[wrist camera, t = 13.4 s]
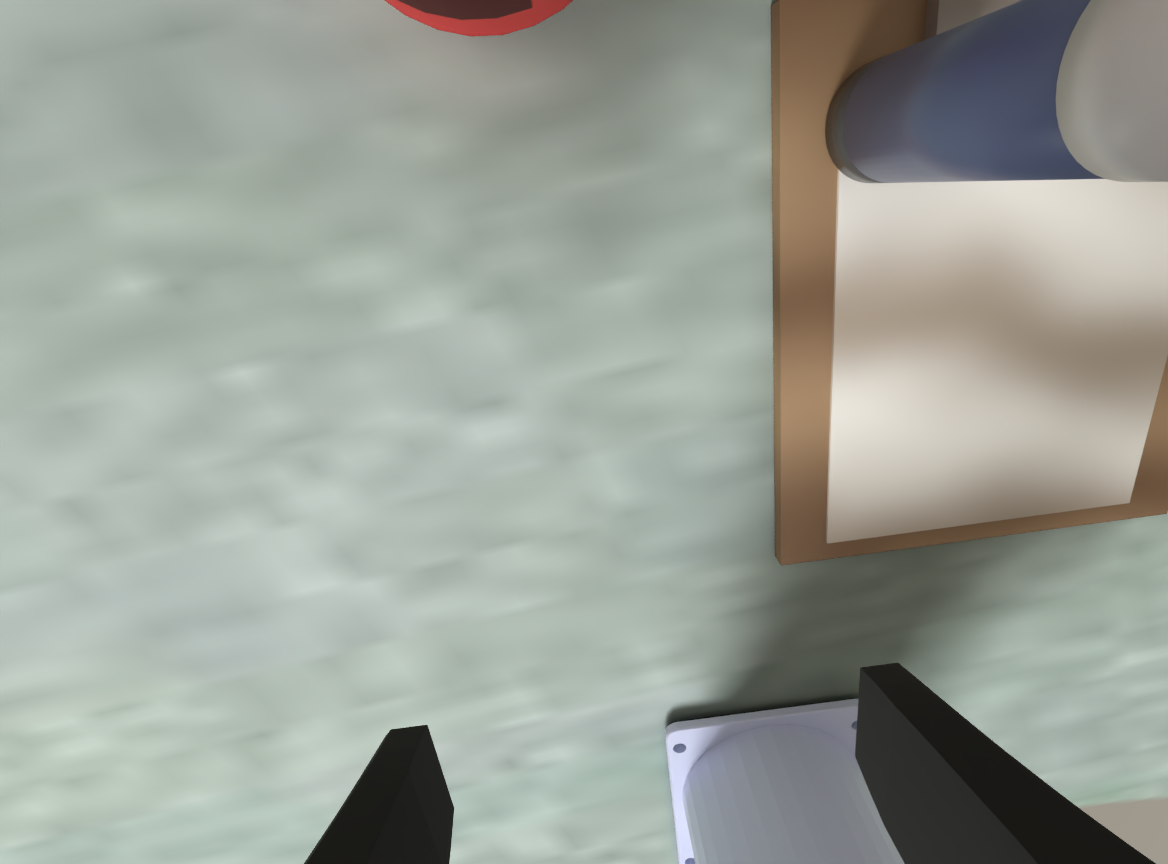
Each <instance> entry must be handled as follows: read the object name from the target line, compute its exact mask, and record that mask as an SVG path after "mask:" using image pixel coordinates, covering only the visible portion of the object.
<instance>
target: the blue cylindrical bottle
mask: <svg viewBox="0 0 1168 864" xmlns="http://www.w3.org/2000/svg"><path fill="white" fill-rule="evenodd" d="M825 139H826V145H827V149H828V152H829V155H830V157H831V159H832V161H833V163H834V164H835V166H836V167H837V168H838V169H839V170H840V171H841V172H842V173H843V174H844V175H845V176H847V177H849V178H851V179H852V180H855V181H858V182H863V183H910V182H963V181H1016V180H1070V179H1108V180H1113V181H1118V182H1168V0H1021V1H1019V2H1017V3H1014V4H1012V5H1009V6H1007V7H1004V8H1002V9H999V10H997V11H994V12H992V13H990V14H987V15H985V16H982V17H980V18H977V19H975V20H972V21H970V22H967V23H965V24H962V25H960V26H958V27H955V28H953V29H950V30H948V31H945V32H943V33H940V34H938V35H935V36H933V37H931V38H928V39H926V40H923V41H921V42H918V43H916V44H913V45H911V46H908V47H906V48H904V49H901V50H899V51H896V52H894V53H891V54H889V55H886V56H884V57H881V58H879V59H876V60H874V61H872V62H869V63H867V64H865V65H863V66H862V67H860V68H859V69H857V70H856V71H855V72H853V73H852V74H851V75H850V76H849V77H848V78H847V79H846V80H845V81H844V83H843V84H842V85H841V86H840V88H839V89H838V91H837V92H836V94H835V96H834V98H833V100H832V102H831V105H830V107H829V110H828V114H827V118H826V124H825Z"/></svg>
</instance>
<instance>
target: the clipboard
mask: <svg viewBox="0 0 1168 864" xmlns="http://www.w3.org/2000/svg"><path fill="white" fill-rule="evenodd" d="M1019 1H1021V0H778V1H776V2H775V3H774V4H773V5H772V6H771V75H772V212H773V348H774V485H775V556H776V558H777V559H778V561H779V563H780V564H781V565H788V564H795V563H802V562H810V561H817V560H825V559H832V558H840V557H847V556H855V555H862V554H870V553H877V552H884V551H892V550H899V549H907V548H914V547H922V546H929V545H937V544H944V543H952V542H959V541H966V540H974V539H981V538H989V537H996V536H1004V535H1011V534H1019V533H1026V532H1034V531H1041V530H1048V529H1056V528H1063V527H1071V526H1078V525H1086V524H1093V523H1101V522H1108V521H1116V520H1123V519H1131V518H1138V517H1145V516H1153V515H1160V514H1167V511H1168V182H1118V181H1113V180H1108V179H1070V180H1016V181H963V182H910V183H863V182H858V181H855V180H852V179H851V178H849V177H847V176H845V175H844V174H843V173H842V172H841V171H840V170H839V169H838V168H837V167H836V166H835V164H834V163H833V161H832V159H831V157H830V155H829V152H828V149H827V145H826V139H825V124H826V118H827V114H828V110H829V107H830V105H831V102H832V100H833V98H834V96H835V94H836V92H837V91H838V89H839V88H840V86H841V85H842V84H843V83H844V81H845V80H846V79H847V78H848V77H849V76H850V75H851V74H852V73H853V72H855V71H856V70H857V69H859V68H860V67H862V66H863V65H865V64H867V63H869V62H872V61H874V60H876V59H879V58H881V57H884V56H886V55H889V54H891V53H894V52H896V51H899V50H901V49H904V48H906V47H908V46H911V45H913V44H916V43H918V42H921V41H923V40H926V39H928V38H931V37H933V36H935V35H938V34H940V33H943V32H945V31H948V30H950V29H953V28H955V27H958V26H960V25H962V24H965V23H967V22H970V21H972V20H975V19H977V18H980V17H982V16H985V15H987V14H990V13H992V12H994V11H997V10H999V9H1002V8H1004V7H1007V6H1009V5H1012V4H1014V3H1017V2H1019Z"/></svg>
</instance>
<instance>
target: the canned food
mask: <svg viewBox="0 0 1168 864" xmlns="http://www.w3.org/2000/svg"><path fill="white" fill-rule="evenodd" d="M385 1H386V2H388V3H389V4H390V5H392V6H393V7H395V8H396V9H397V10H399V11H400V12H402V13H403V14H404V15H406V16H408V17H410V18H413V19H415V20H417V21H419V22H422V23H424V24H426V25H428V26H431V27H433V28H435V29H437V30H442V31H447V32H452V33H457V34H462V35H467V36H488V35H504V34H508V33H511V32H514V31H518V30H521V29H525V28H528V27H531V26H534V25H536V24H538V23H540V22H541V21H543V20H545V19H547V18H548V17H550V16H552V15H554V14H555V13H557V12H559V11H561V10H562V9H564V8H565V7H566V6H567V5H568V4H569V3H570V2H572V1H573V0H385Z"/></svg>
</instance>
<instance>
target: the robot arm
mask: <svg viewBox="0 0 1168 864" xmlns="http://www.w3.org/2000/svg"><path fill="white" fill-rule="evenodd" d="M665 742H666V751H667V760H668V770H669V779H670V788H671V797H672V806H673V816H674V825H675V834H676V843H677V852H678V862H679V864H1155V863H1154V862H1153V861H1151V860H1149V859H1148V858H1147V857H1146V856H1144V855H1143V854H1141V853H1140V852H1139V851H1137V850H1135V849H1134V848H1133V847H1131V846H1130V845H1129V844H1127V843H1126V842H1124V841H1123V840H1122V839H1120V838H1119V837H1118V836H1116V835H1115V834H1113V833H1112V832H1111V831H1109V830H1108V829H1106V828H1105V827H1104V826H1102V825H1101V824H1100V823H1098V822H1097V821H1096V820H1094V819H1093V818H1092V817H1090V816H1089V815H1087V814H1086V813H1085V812H1083V811H1082V810H1081V809H1079V808H1078V807H1077V806H1075V805H1074V804H1073V803H1071V802H1070V801H1069V800H1067V799H1066V798H1065V797H1063V796H1062V795H1061V794H1060V793H1058V792H1057V791H1056V790H1054V789H1053V788H1052V787H1050V786H1049V785H1048V784H1047V783H1045V782H1044V781H1043V780H1041V779H1040V778H1039V777H1038V776H1036V775H1035V774H1034V773H1032V772H1031V771H1030V770H1029V769H1027V768H1026V767H1025V766H1024V765H1022V764H1021V763H1020V762H1018V761H1017V760H1016V759H1015V758H1013V757H1012V756H1011V755H1009V754H1008V753H1007V752H1006V751H1004V750H1003V749H1002V748H1001V747H999V746H998V745H997V744H996V743H994V742H993V741H992V740H991V739H990V738H988V737H987V736H986V735H985V734H983V733H982V732H981V731H980V730H978V729H977V728H976V727H975V726H974V725H972V724H971V723H970V722H969V721H968V720H966V719H965V718H964V717H963V716H961V715H960V714H959V713H958V712H957V711H955V710H954V709H953V708H952V707H951V706H949V705H948V704H947V703H946V702H945V701H943V700H942V699H941V698H940V697H939V696H937V695H936V694H935V693H934V692H933V691H931V690H930V689H929V688H928V687H927V686H925V685H924V684H923V683H922V682H921V681H919V680H918V679H917V678H916V677H915V676H913V675H912V674H911V673H910V672H909V671H907V670H906V669H905V668H904V667H902V666H901V665H900V664H899V663H893V664H885V665H878V666H870V667H862V668H861V669H860V684H859V699H849V700H841V701H834V702H826V703H818V704H811V705H803V706H795V707H788V708H780V709H773V710H765V711H757V712H750V713H742V714H734V715H727V716H719V717H712V718H704V719H696V720H689V721H681V722H675V723H672V724H670V725H669V726H667V728H666V729H665ZM679 743H681V744H679ZM453 814H454V806H453V803H452V800H451V797H450V794H449V791H448V788H447V785H446V782H445V779H444V775H443V772H442V769H441V766H440V763H439V760H438V757H437V754H436V751H435V747H434V744H433V741H432V738H431V735H430V732H429V729H428V726H427V725H422V726H415V727H407V728H399V729H392V730H390V732H389V733H388V734H387V735H386V737H385V738H384V740H383V741H382V743H381V745H380V746H379V748H378V749H377V751H376V753H375V754H374V756H373V757H372V759H371V761H370V762H369V764H368V766H367V767H366V769H365V770H364V772H363V774H362V775H361V777H360V778H359V780H358V782H357V783H356V785H355V786H354V788H353V790H352V791H351V793H350V794H349V796H348V797H347V799H346V801H345V802H344V804H343V805H342V807H341V808H340V810H339V812H338V813H337V815H336V816H335V818H334V819H333V821H332V822H331V824H330V825H329V827H328V828H327V830H326V831H325V833H324V834H323V836H322V837H321V839H320V840H319V842H318V843H317V845H316V846H315V848H314V850H313V851H312V853H311V854H310V856H309V857H308V859H307V860H306V862H305V863H304V864H449V860H450V850H451V838H452V826H453Z"/></svg>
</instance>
